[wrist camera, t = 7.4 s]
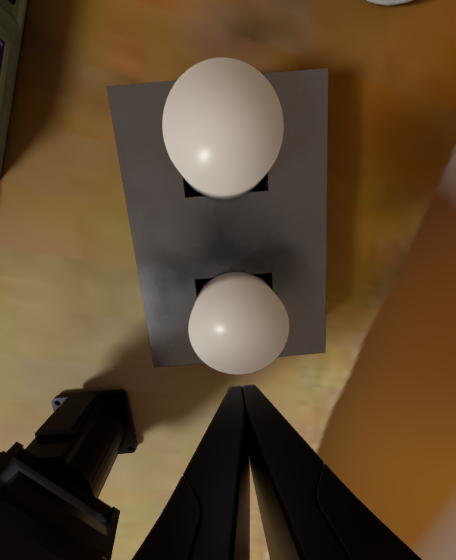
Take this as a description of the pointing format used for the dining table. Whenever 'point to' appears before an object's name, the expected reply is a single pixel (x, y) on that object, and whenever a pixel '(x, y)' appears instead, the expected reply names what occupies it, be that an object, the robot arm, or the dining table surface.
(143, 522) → the dining table surface
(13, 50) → the handheld radio
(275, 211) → the mount
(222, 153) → the knob
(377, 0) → the block
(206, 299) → the knob
